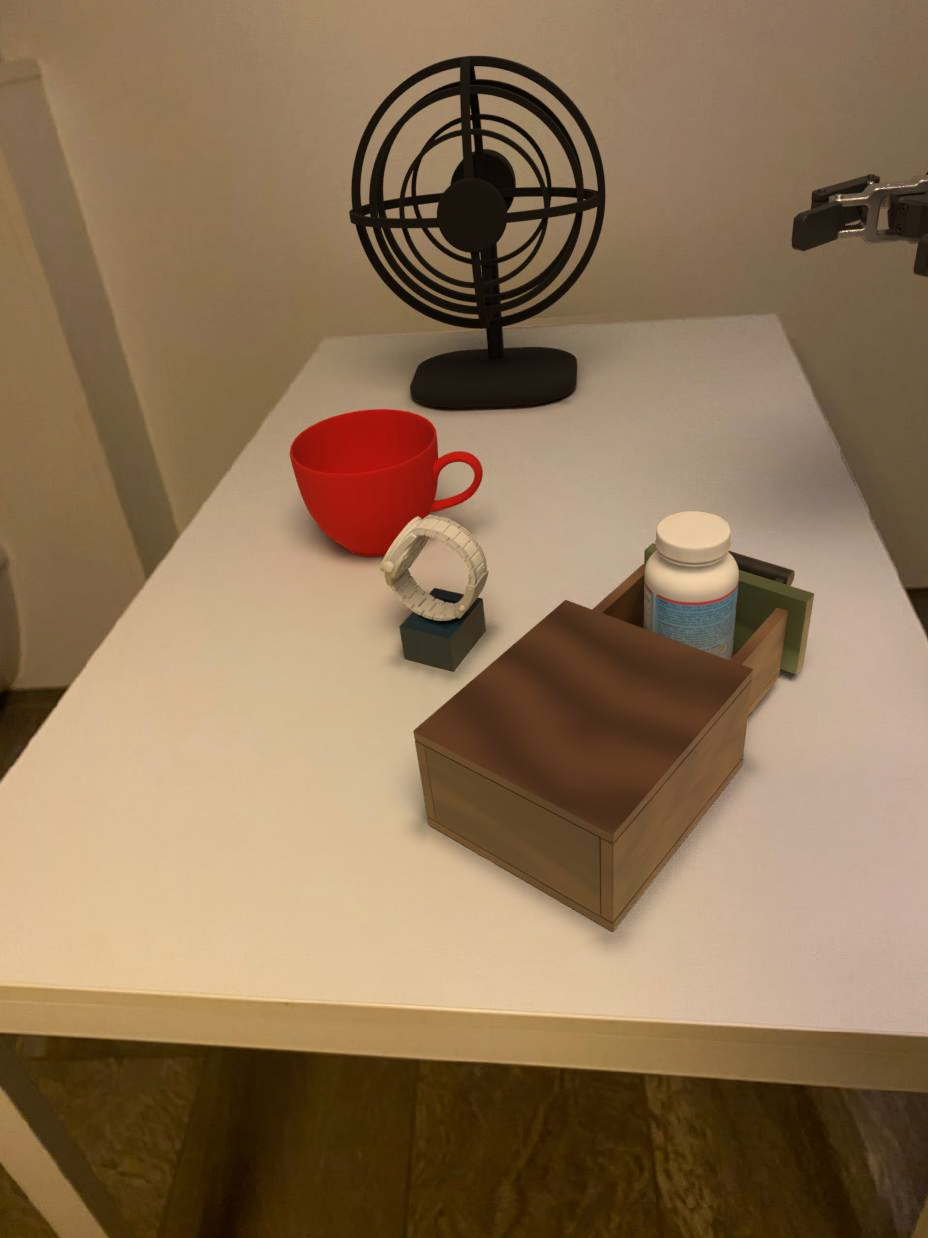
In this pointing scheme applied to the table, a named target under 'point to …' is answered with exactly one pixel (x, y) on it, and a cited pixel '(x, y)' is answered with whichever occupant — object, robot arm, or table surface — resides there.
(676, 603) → the pill bottle
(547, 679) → the cabinet
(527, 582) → the table surface
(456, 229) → the desk fan
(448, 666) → the watch
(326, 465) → the ceramic cup
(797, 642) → the drawer
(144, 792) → the table surface
